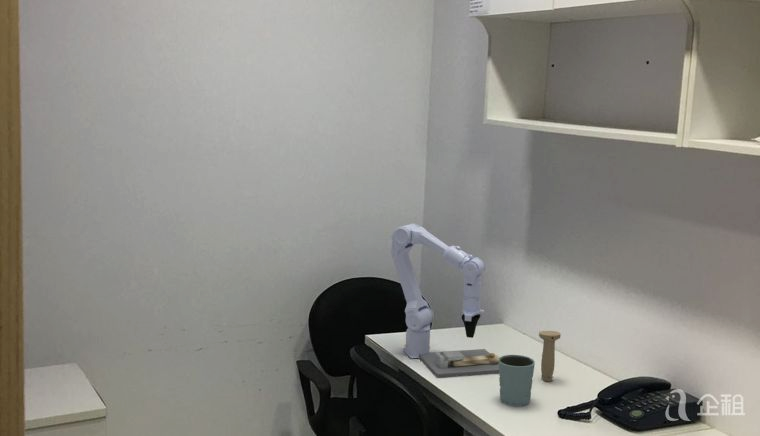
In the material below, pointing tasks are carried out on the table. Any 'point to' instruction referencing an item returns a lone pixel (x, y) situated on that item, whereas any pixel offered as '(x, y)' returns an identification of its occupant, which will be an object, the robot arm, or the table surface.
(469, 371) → the board
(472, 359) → the link
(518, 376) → the teal cup
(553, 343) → the handle
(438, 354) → the block
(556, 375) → the table surface
